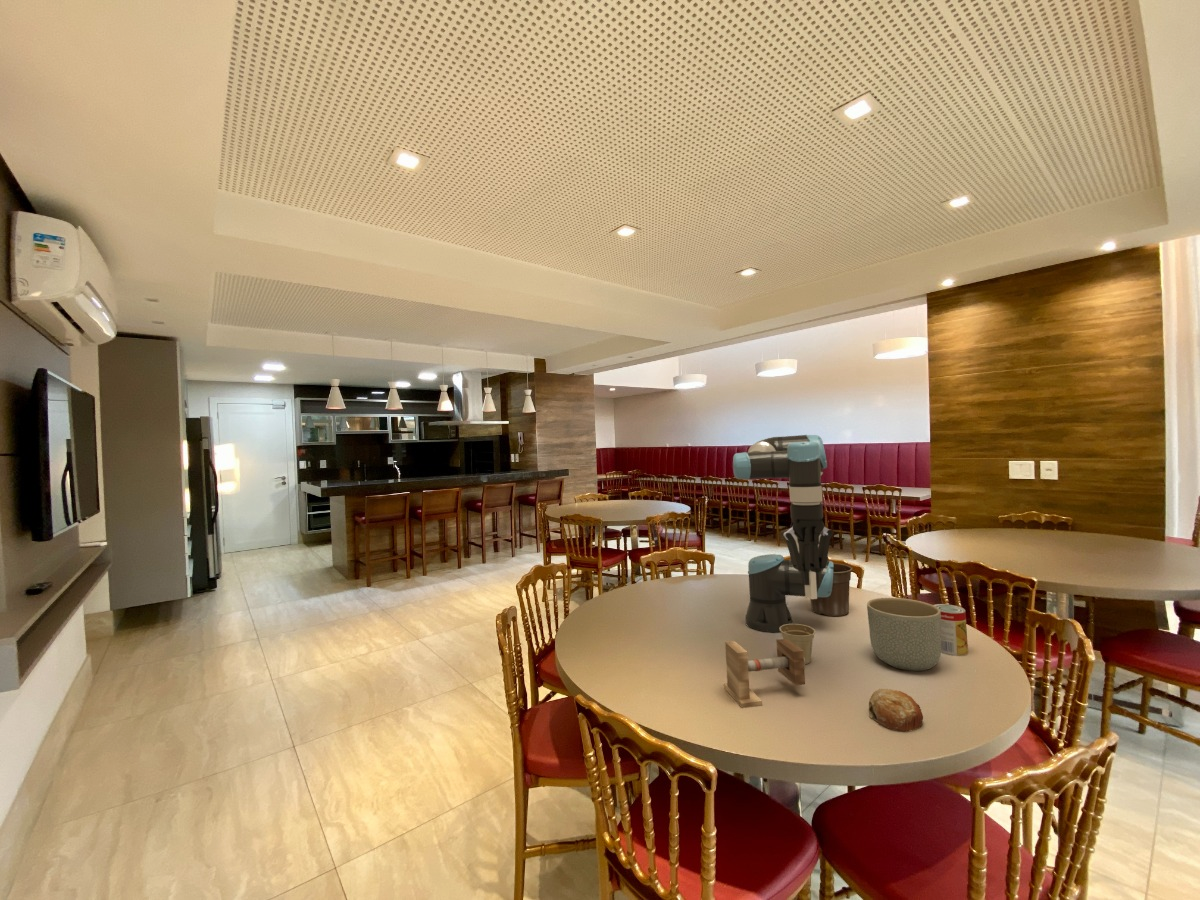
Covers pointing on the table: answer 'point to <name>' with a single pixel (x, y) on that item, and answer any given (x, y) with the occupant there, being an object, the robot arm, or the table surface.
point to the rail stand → (746, 673)
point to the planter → (905, 632)
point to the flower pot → (799, 637)
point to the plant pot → (835, 594)
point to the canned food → (953, 630)
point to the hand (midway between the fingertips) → (811, 597)
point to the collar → (792, 661)
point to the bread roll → (895, 710)
